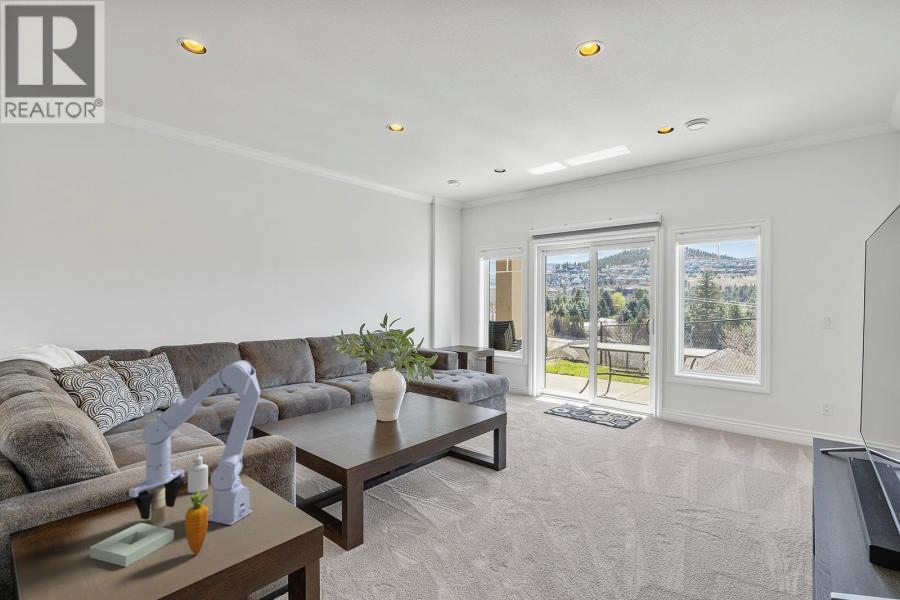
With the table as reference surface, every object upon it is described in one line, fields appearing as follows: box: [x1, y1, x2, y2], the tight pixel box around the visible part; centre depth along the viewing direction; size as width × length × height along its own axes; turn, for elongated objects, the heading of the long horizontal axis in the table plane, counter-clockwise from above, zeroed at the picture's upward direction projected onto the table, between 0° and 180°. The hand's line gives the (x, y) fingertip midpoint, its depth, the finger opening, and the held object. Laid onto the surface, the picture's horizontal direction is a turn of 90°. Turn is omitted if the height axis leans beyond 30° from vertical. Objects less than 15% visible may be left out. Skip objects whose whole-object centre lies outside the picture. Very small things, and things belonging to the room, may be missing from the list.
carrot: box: [184, 491, 209, 555], centre depth 104 cm, size 5×5×15 cm
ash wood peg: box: [150, 485, 166, 526], centre depth 119 cm, size 3×3×10 cm
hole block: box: [89, 522, 175, 568], centre depth 106 cm, size 12×12×2 cm
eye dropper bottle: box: [187, 453, 209, 494], centre depth 139 cm, size 4×6×12 cm
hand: (158, 512), depth 119 cm, fingers open, 7 cm apart
